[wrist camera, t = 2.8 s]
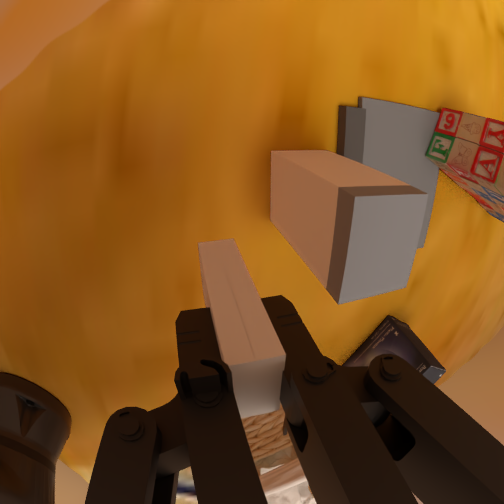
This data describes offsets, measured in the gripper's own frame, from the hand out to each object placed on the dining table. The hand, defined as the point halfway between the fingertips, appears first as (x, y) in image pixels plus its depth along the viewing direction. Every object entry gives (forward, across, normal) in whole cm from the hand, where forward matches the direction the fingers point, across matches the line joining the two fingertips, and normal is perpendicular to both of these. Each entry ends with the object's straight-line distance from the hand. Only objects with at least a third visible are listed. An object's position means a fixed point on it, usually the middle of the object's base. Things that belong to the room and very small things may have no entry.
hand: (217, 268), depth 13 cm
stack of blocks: (+12, +34, +2) cm, 36 cm away
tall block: (+12, +9, 0) cm, 15 cm away
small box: (+12, +22, -24) cm, 35 cm away
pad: (+12, +19, 0) cm, 22 cm away
